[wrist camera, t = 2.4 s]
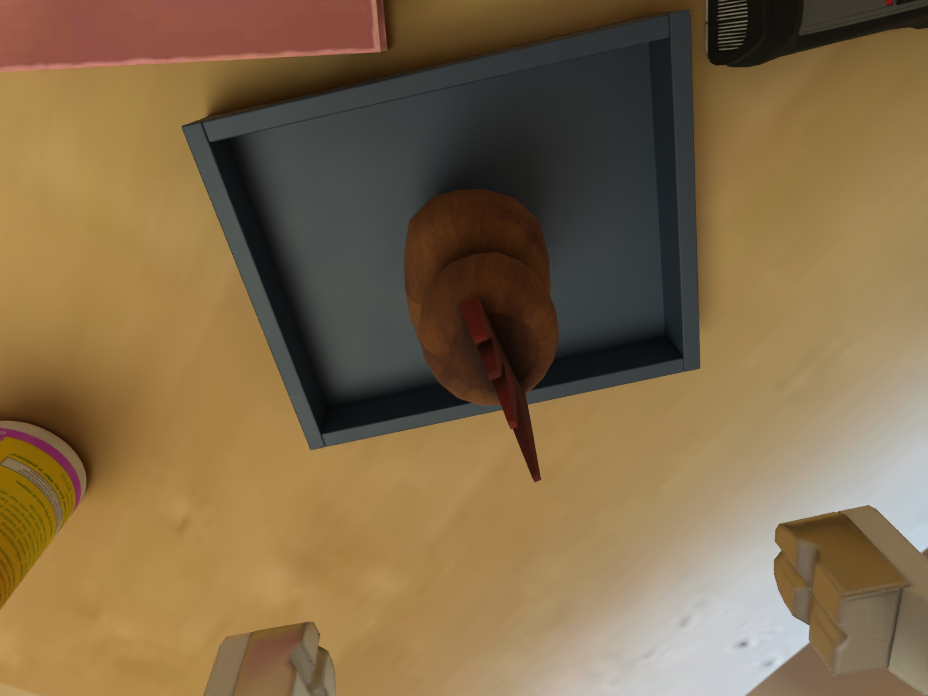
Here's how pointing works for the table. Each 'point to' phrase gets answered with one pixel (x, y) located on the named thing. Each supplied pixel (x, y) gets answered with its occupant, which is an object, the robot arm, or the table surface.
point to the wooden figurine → (483, 301)
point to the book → (182, 31)
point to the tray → (461, 168)
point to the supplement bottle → (33, 496)
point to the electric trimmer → (798, 25)
